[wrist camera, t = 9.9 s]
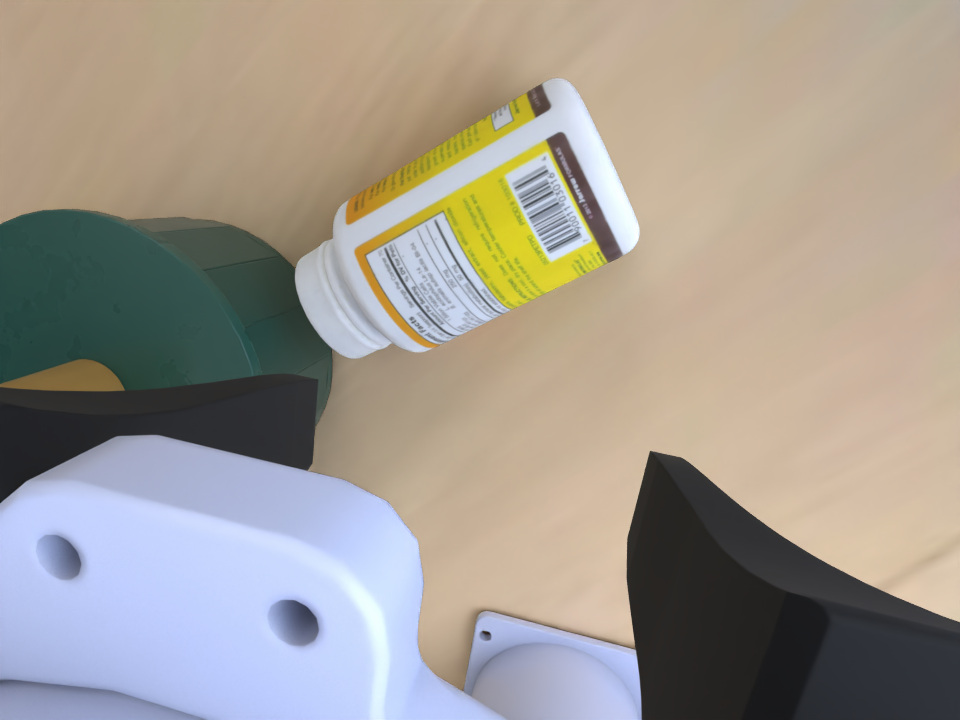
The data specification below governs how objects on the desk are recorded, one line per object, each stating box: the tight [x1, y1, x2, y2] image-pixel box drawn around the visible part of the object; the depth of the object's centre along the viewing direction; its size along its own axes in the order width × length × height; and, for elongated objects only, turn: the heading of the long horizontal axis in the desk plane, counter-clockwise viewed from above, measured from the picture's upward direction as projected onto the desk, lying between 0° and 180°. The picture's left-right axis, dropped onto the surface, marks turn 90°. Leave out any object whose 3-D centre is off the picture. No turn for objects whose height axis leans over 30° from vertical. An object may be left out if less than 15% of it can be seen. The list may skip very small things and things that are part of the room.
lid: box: [0, 209, 262, 391], centre depth 18 cm, size 12×12×4 cm
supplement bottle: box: [295, 78, 639, 359], centre depth 19 cm, size 6×6×10 cm
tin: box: [128, 217, 332, 426], centre depth 22 cm, size 11×11×6 cm
